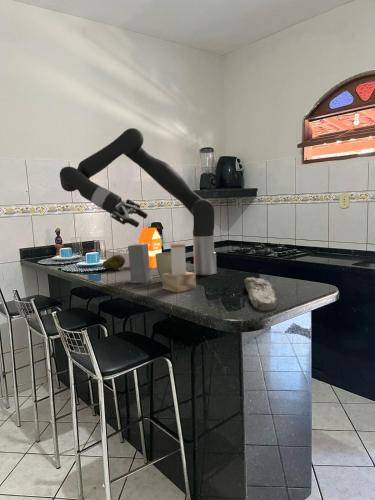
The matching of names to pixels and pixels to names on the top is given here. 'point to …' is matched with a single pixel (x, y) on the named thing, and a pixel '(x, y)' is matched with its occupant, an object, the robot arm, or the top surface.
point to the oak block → (179, 282)
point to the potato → (114, 262)
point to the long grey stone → (261, 293)
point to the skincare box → (139, 263)
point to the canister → (178, 259)
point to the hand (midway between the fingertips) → (142, 220)
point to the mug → (163, 263)
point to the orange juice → (151, 243)
